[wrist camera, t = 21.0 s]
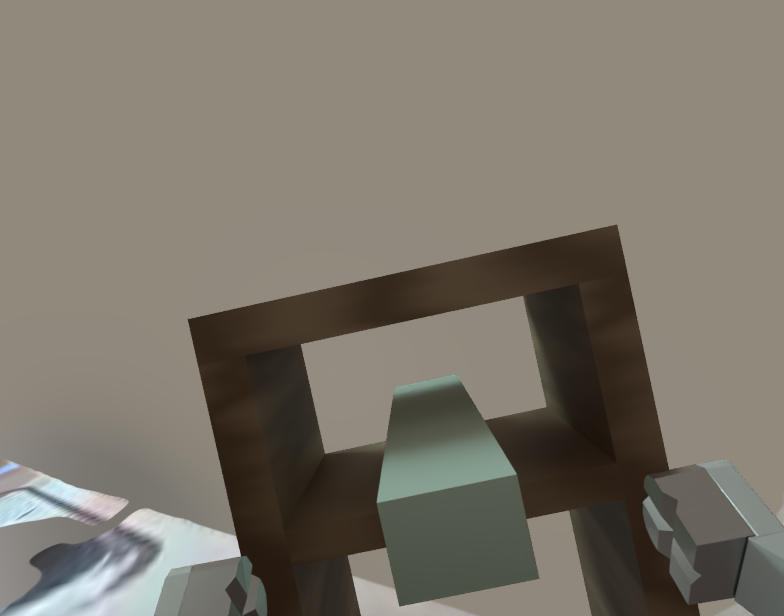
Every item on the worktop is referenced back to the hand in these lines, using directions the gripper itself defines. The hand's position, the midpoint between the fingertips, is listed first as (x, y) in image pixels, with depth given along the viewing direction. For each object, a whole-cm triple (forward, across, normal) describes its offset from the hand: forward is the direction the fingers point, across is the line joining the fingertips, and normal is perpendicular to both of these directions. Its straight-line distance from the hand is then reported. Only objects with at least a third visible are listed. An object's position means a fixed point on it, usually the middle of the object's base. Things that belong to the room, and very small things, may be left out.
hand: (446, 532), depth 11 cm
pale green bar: (+10, 0, +10) cm, 14 cm away
